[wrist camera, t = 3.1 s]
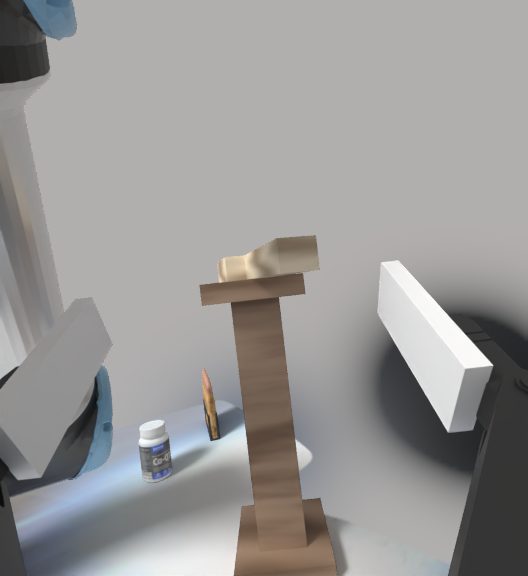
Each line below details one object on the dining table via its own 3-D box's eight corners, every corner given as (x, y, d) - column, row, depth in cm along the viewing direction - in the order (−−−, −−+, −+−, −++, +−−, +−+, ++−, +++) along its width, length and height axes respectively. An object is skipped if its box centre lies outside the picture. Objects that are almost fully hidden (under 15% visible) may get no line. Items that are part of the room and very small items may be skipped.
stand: (337, 580, 32) (303, 273, 32) (235, 590, 32) (199, 285, 32) (321, 509, 42) (294, 275, 42) (243, 517, 42) (215, 284, 42)
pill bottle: (157, 485, 52) (151, 432, 52) (136, 480, 54) (130, 429, 54) (178, 469, 56) (172, 419, 56) (158, 464, 58) (152, 417, 58)
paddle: (344, 266, 25) (340, 233, 25) (253, 276, 23) (248, 240, 23) (275, 277, 41) (273, 257, 41) (219, 283, 39) (217, 262, 39)
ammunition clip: (205, 421, 75) (199, 368, 75) (213, 419, 76) (207, 367, 76) (210, 441, 65) (203, 380, 65) (220, 439, 65) (212, 378, 65)
